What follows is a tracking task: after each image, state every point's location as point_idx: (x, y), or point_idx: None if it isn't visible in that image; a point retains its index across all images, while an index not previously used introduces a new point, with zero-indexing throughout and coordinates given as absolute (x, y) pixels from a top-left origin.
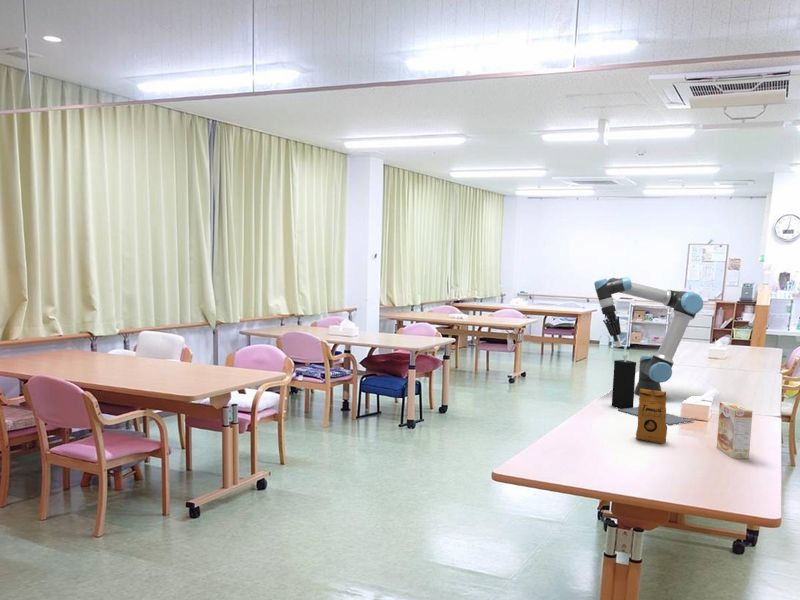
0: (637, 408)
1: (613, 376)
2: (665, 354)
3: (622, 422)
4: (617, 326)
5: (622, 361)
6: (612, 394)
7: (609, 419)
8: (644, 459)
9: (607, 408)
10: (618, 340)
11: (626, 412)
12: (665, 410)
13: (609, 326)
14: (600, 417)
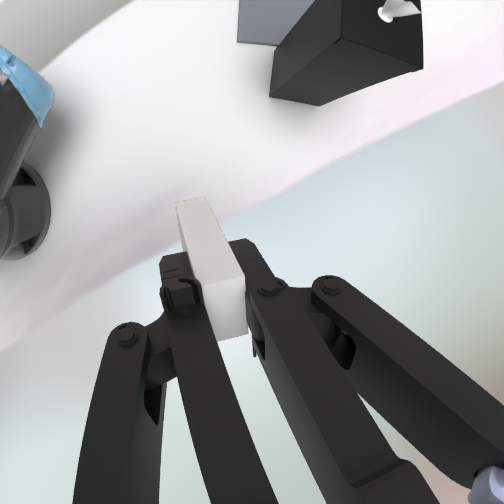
0: (278, 32)
1: (373, 84)
2: None
3: (425, 3)
4: (140, 460)
5: (406, 21)
6: (336, 98)
7: (434, 31)
8: None
9: (356, 94)
10: (222, 236)
11: None
12: None
13: (456, 380)
14: (441, 53)
